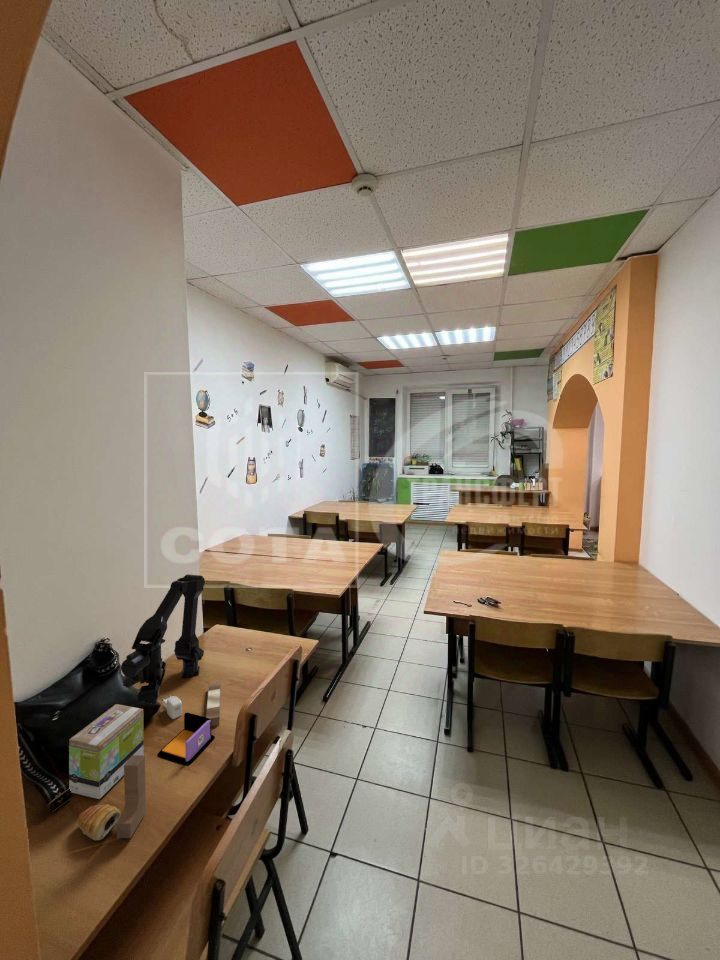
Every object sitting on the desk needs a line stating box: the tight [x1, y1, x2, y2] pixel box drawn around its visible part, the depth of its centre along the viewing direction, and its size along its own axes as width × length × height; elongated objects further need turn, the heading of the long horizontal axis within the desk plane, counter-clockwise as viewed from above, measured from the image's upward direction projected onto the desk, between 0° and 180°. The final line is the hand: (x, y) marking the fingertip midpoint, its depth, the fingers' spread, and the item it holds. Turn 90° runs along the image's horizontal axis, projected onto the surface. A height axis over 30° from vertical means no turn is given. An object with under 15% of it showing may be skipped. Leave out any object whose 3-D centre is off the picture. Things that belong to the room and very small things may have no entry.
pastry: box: [76, 803, 122, 841], centre depth 90 cm, size 9×7×4 cm
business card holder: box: [157, 712, 216, 767], centre depth 115 cm, size 12×12×7 cm
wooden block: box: [115, 755, 147, 839], centre depth 90 cm, size 7×3×15 cm, turn 0°
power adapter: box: [161, 694, 183, 720], centre depth 130 cm, size 10×4×5 cm, turn 48°
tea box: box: [68, 703, 145, 800], centre depth 104 cm, size 15×10×15 cm, turn 168°
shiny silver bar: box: [205, 681, 221, 728], centre depth 132 cm, size 20×4×3 cm, turn 19°
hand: (152, 703), depth 131 cm, fingers open, 9 cm apart
